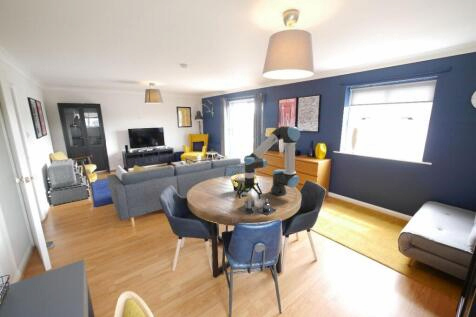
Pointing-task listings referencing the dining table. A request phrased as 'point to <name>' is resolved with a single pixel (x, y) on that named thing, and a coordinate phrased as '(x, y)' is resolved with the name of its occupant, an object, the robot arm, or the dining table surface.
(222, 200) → the dining table surface
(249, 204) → the ring
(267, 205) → the stand
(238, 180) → the tea box
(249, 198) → the hub
